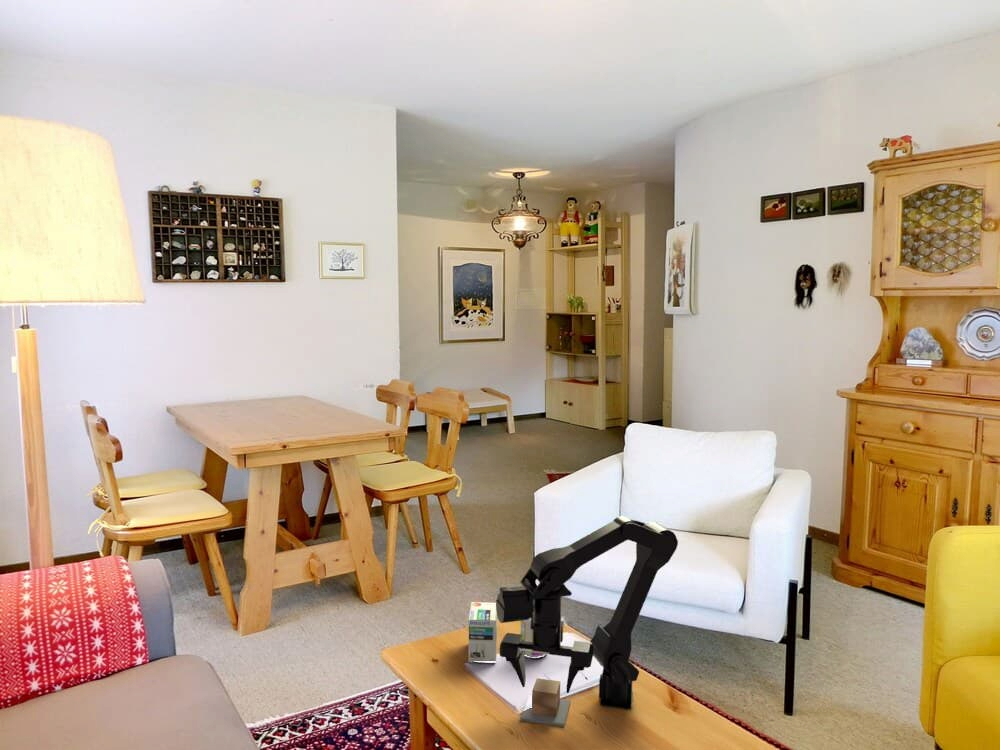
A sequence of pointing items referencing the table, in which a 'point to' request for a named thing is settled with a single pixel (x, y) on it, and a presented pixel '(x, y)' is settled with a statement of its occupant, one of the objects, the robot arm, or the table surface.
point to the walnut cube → (546, 697)
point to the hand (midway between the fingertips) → (545, 689)
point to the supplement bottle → (528, 636)
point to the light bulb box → (482, 632)
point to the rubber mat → (549, 720)
